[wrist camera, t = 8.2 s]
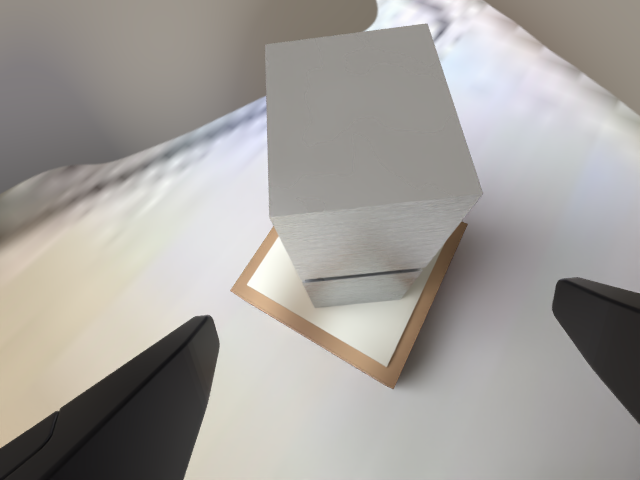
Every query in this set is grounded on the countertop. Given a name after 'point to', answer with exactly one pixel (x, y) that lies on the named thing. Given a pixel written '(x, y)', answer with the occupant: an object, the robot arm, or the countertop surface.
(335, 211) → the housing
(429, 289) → the stand
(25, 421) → the countertop surface
